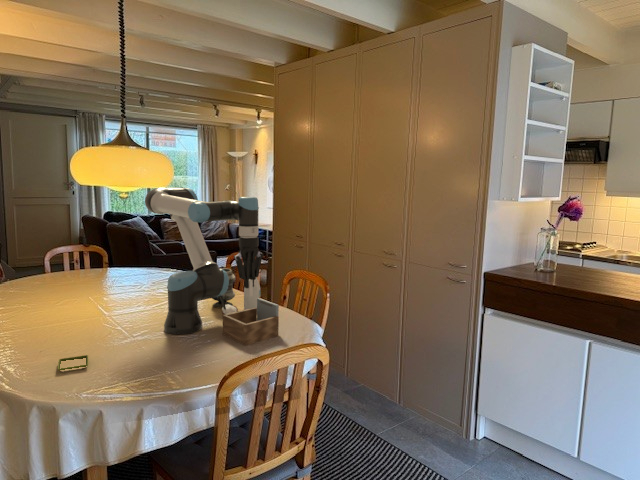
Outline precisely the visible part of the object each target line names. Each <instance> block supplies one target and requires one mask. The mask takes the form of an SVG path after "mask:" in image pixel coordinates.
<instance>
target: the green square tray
mask: <svg viewBox="0 0 640 480" xmlns="http://www.w3.org/2000/svg"><path fill="white" fill-rule="evenodd" d="M83 358H86V365H80V366H74V367H67V368H61V369H60V364H61V361H66V360H74V359H83ZM57 362H58V364H57V370H58V371H59V370H65V369H72V368H79V367H86V366H87V367H88V365H89V354H88V355H87V354H86V355H78V356H70V357H65V358H59V359H58V361H57ZM87 367H86V368H87Z"/></svg>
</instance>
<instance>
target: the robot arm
mask: <svg viewBox="0 0 640 480" xmlns="http://www.w3.org/2000/svg"><path fill="white" fill-rule="evenodd" d="M144 205H145V207H146V209H147V210H148V211H149V212H151V213H153V214H157V215H165V214H166V215H167V214H169V215H170V219H171V220H172V221H174V222H176V225H177V227H178V231H179V232H180V235H181V238H182V241H183V243H184V247H185V249H186V252H187V254H188V257H189V259H190V263H191V265H192V267H193V269H192V270H185V271H184V270H183V271H178V272H174V273H173V274H171V275H169V277H168V278H167V286H166V287H167V308H168V311H167V314H166V317H165V321H164V324H163V327H164V329H163V330H164V332H165V333H167V334H170V335H188V334H192V333H193V334H194V333H196V332H199V331H200V330H202V329H203V320H202V318H201V314H200V312H199V310H198V309H199V308H198V302H200V301H204V300H208V299H212V298H216V297H218V296H220V295H223V294H225V293H226V291H227V289H228V285H229V278H228V274H227V273H226V271H224V270H223V269H219V265H218V263H216V262H214V260H213V259H212V256H211V254H210V252H209V248H208V246H207V244H206V241H205V238H204V236H203V233H202V231H201V229H200V225H199V223H206V222H207V223H209V222H218V221H219V222H221V221H223V222H224V221H238V236H239V237H238V247H239V250H238V253H237V254H236V255H233V259H234V260H235V264H236V269H237V273H238V277H239V279H242V280H243V282H244V283H243V288H244V287H245V288H246V295H247V296H249V297H250V296H253V287H254V280H255V279H256V277H257V278H259V275H260V269H261V264H262V260H263V257H264V255H265V253H263V252H261V251H260V250H259V242H260V241H259V237H258V236H259V209H260V207H259V199H258V197H255V196H239V198H238V201H235V200H223V201H202V200H199V199H198V195H197V194H196V192H195V191H194V190H192V189H191V188H190V187H189V188H188V187H184V186H179V187H156V188H155V187H154V188H152V189H151V190H149V191H148V192H147V194H146V195H145V198H144ZM249 278H250V279H249Z"/></svg>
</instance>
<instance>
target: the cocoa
mask: <svg viewBox="0 0 640 480" xmlns="http://www.w3.org/2000/svg"><path fill="white" fill-rule="evenodd" d="M220 299H221V302H222V305H223V308H221V310H222V315H225V314H229V313H234V312H238V311H239V310H238V309H237V307H235V306H234V305H233V306H231V305H229V304H227V305H225V304H224V301H223V298H222V296H221V295H220Z"/></svg>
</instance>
